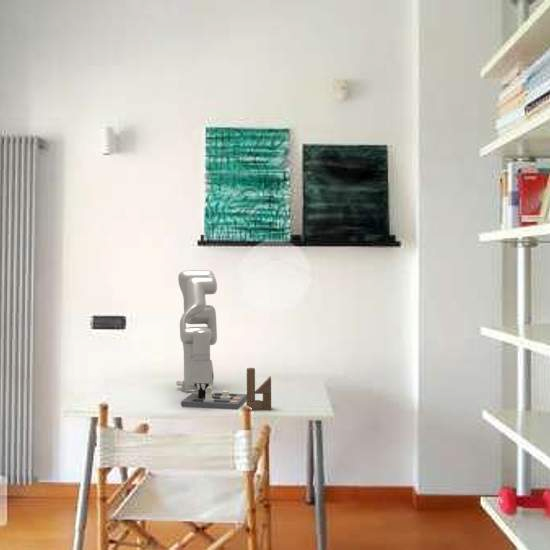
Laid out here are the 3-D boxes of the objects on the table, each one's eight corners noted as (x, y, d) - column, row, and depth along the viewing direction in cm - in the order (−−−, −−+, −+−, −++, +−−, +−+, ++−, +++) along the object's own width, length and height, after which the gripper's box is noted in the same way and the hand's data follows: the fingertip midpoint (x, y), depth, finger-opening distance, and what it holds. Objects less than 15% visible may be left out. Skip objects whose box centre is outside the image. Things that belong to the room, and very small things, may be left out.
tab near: (203, 404, 249) (203, 394, 248) (205, 402, 252) (205, 392, 252) (212, 404, 248) (212, 394, 248) (214, 403, 251) (214, 393, 251)
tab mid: (220, 401, 253) (220, 391, 253) (222, 399, 256) (222, 390, 256) (228, 402, 253) (228, 392, 252) (230, 400, 256) (230, 390, 256)
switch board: (181, 406, 249) (180, 400, 249) (194, 397, 267) (194, 391, 267) (237, 409, 244) (237, 403, 244) (247, 399, 262) (247, 393, 262)
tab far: (204, 397, 261) (204, 388, 261) (206, 395, 264) (206, 386, 264) (212, 397, 260) (212, 388, 260) (214, 396, 263) (214, 386, 263)
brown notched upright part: (271, 410, 243) (271, 368, 243) (246, 410, 242) (246, 369, 242) (270, 407, 247) (270, 367, 246) (246, 408, 246) (246, 367, 246)
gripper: (182, 358, 247) (183, 399, 248) (215, 359, 245) (215, 401, 245) (188, 355, 255) (189, 395, 255) (220, 356, 252) (220, 396, 252)
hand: (202, 398), depth 250 cm, fingers closed
